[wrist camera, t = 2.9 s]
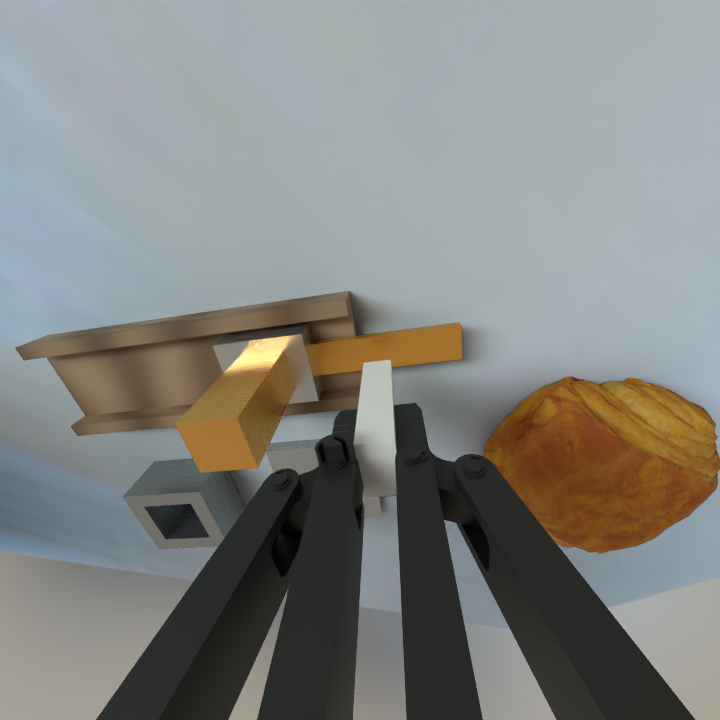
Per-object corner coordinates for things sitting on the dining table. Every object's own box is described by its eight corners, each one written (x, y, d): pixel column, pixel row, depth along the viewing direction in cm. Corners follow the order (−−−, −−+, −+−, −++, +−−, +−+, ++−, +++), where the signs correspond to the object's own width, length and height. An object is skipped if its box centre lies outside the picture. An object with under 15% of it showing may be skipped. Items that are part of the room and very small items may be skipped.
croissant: (681, 413, 26) (815, 480, 19) (546, 527, 30) (612, 620, 23) (572, 318, 23) (683, 353, 15) (436, 461, 27) (471, 544, 19)
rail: (101, 418, 27) (77, 435, 25) (48, 335, 24) (15, 347, 22) (366, 390, 24) (365, 407, 22) (349, 291, 21) (345, 300, 19)
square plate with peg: (294, 511, 31) (260, 632, 22) (269, 443, 27) (215, 557, 19) (382, 506, 30) (382, 631, 21) (368, 435, 26) (362, 551, 17)
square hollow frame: (183, 511, 32) (159, 548, 29) (154, 461, 29) (122, 497, 26) (245, 507, 32) (228, 545, 28) (221, 456, 29) (199, 491, 25)
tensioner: (248, 394, 24) (180, 489, 16) (226, 334, 22) (134, 408, 14) (460, 370, 22) (506, 466, 14) (458, 302, 20) (512, 368, 12)
